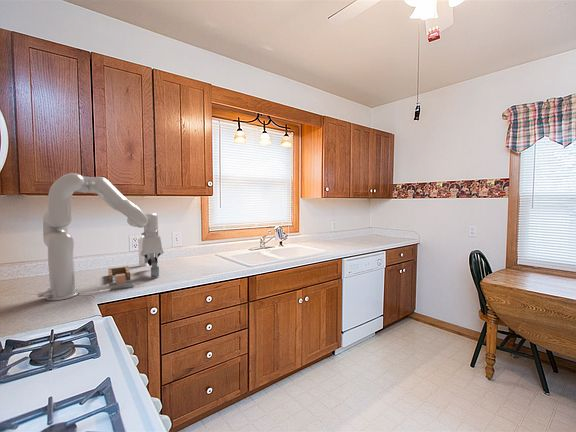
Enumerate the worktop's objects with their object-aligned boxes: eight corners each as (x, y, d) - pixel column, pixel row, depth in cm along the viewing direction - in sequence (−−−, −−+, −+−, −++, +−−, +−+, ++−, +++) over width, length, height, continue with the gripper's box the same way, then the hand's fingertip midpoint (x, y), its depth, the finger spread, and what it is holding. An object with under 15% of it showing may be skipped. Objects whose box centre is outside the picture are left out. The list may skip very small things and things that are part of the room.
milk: (152, 265, 198) (152, 233, 196) (146, 267, 192) (145, 235, 190) (145, 264, 199) (144, 233, 197) (139, 267, 193) (137, 234, 191)
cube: (125, 283, 155) (125, 275, 154) (116, 284, 152) (115, 276, 152) (125, 281, 158) (124, 273, 158) (115, 282, 156) (115, 274, 155)
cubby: (132, 287, 151) (132, 278, 150) (110, 291, 145) (109, 281, 145) (127, 274, 175) (127, 266, 175) (108, 277, 170) (108, 268, 169)
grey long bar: (160, 276, 166) (160, 262, 164) (149, 277, 163) (149, 264, 161) (153, 261, 183) (153, 249, 181) (144, 262, 180) (144, 250, 178)
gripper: (136, 236, 160) (138, 268, 162) (167, 233, 169) (168, 264, 171) (135, 234, 167) (136, 265, 168) (164, 232, 175) (166, 261, 177)
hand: (152, 264), depth 169 cm, fingers closed on grey long bar
